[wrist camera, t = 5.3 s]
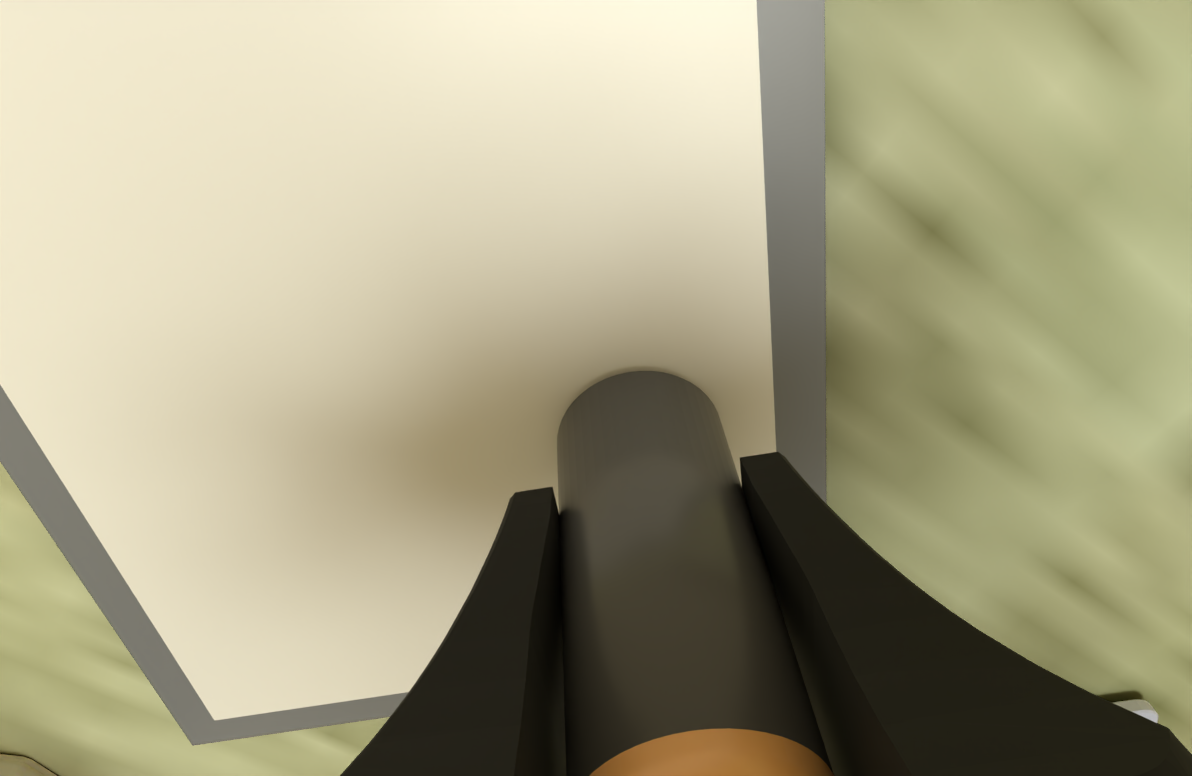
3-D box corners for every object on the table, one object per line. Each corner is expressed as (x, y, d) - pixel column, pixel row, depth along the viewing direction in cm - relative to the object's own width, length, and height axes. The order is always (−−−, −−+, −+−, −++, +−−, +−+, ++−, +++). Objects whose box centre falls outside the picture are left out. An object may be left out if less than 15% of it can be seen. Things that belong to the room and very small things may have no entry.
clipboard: (819, 632, 20) (839, 689, 18) (201, 723, 20) (177, 785, 19) (806, -620, 9) (853, -705, 8) (-507, -360, 10) (-679, -397, 8)
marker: (726, 492, 16) (864, 958, 9) (571, 515, 16) (595, 994, 9) (715, 358, 14) (872, 804, 8) (543, 385, 14) (545, 850, 8)
